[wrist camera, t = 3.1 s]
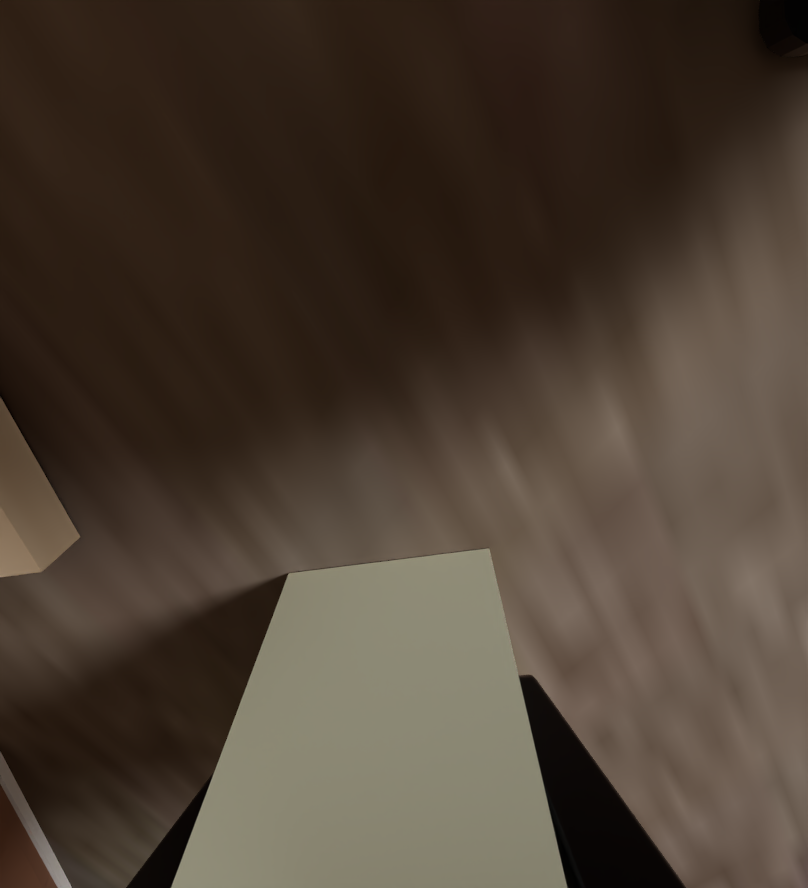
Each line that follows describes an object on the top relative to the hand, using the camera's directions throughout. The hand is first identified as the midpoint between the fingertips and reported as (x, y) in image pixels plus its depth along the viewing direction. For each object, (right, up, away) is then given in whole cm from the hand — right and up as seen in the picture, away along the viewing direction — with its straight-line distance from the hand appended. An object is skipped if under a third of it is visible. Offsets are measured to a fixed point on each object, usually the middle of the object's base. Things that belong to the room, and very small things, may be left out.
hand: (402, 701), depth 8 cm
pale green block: (0, +1, +1) cm, 2 cm away
